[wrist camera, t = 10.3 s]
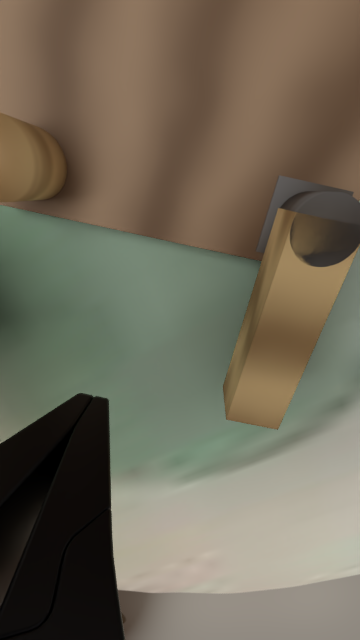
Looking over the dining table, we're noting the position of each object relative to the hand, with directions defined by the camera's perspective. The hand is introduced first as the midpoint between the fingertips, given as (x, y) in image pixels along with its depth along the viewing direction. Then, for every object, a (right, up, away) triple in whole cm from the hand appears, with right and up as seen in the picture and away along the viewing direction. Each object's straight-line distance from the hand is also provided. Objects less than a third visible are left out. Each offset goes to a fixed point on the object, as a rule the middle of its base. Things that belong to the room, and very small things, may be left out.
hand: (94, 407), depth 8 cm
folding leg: (+8, +3, +10) cm, 13 cm away
